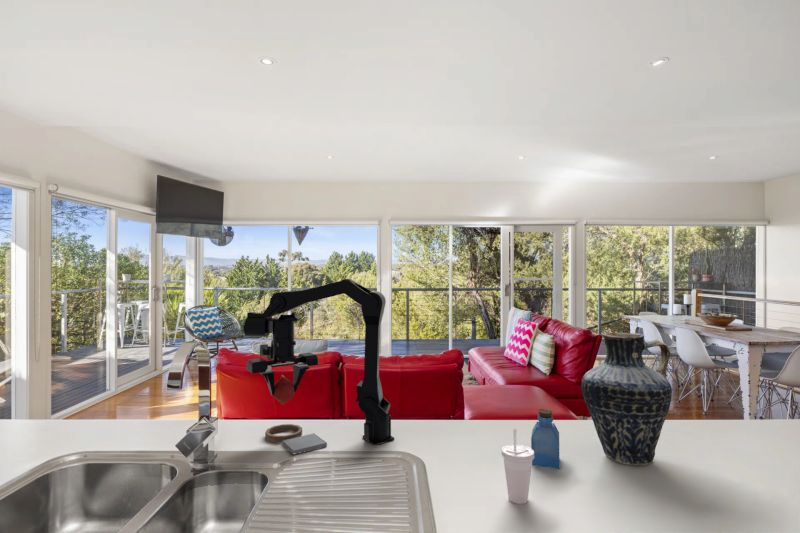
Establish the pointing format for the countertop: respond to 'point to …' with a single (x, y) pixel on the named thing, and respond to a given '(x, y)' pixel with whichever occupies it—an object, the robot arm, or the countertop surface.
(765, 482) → the countertop surface
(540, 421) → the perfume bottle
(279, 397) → the onion
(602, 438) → the jug
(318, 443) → the slate tile
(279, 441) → the ring
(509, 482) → the smoothie
